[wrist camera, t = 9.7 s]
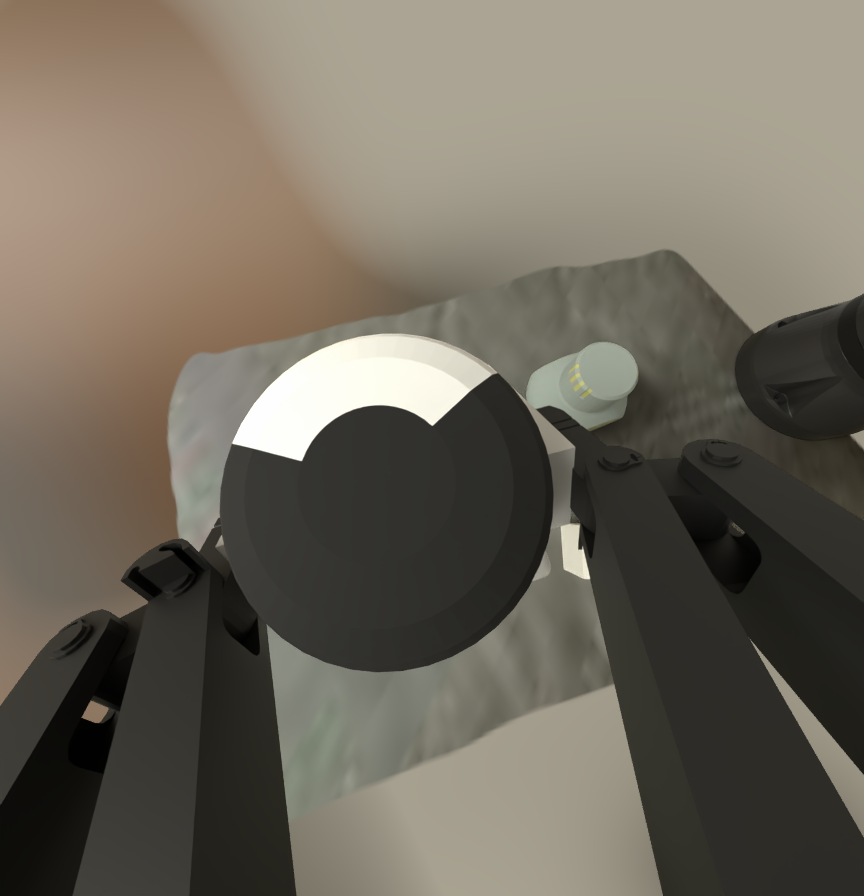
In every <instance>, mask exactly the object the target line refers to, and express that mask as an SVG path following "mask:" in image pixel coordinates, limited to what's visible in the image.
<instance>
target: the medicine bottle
mask: <svg viewBox="0 0 864 896" xmlns="http://www.w3.org/2000/svg"><path fill="white" fill-rule="evenodd" d="M553 498H554V491H553V480H552V470H551V466H550V461H549V457H548V453H547V449H546V446H545V443H544V440H543V438H542V435H541V433H540V430H539V428H538V425H537V423H536V422H535V420H534V418H533V416H532V415H531V413H530V411H529V409H528V407H527V406H526V404H525V403H524V402H523V401H522V399H521V398H520V397H519V395H518V394H517V393H516V391H515V390H514V389H513V388H512V387H511V386H510V385H509V384H508V383H507V382H506V381H505V380H504V379H503V378H502V377H501V376H500V375H499V374H498V373H497V372H496V371H495V370H493V369H492V368H491V367H489V366H488V365H487V364H485V363H484V362H483V361H481V360H480V359H478V358H476V357H475V356H473V355H471V354H469V353H468V352H466V351H464V350H462V349H460V348H457V347H455V346H452V345H450V344H447V343H445V342H442V341H438V340H435V339H431V338H427V337H423V336H416V335H408V334H376V335H368V336H360V337H357V338H353V339H349V340H345V341H341V342H338V343H336V344H333V345H331V346H328V347H326V348H323V349H321V350H319V351H317V352H315V353H313V354H311V355H310V356H308V357H306V358H304V359H302V360H301V361H299V362H298V363H297V364H295V365H294V366H292V367H291V368H290V369H288V370H287V371H285V372H284V373H283V374H282V375H281V376H280V377H279V378H278V379H277V380H275V381H274V382H273V383H272V384H271V385H270V386H269V387H268V388H267V389H266V390H265V392H264V393H263V394H262V395H261V396H260V398H259V399H258V400H257V401H256V402H255V404H254V405H253V406H252V408H251V410H250V411H249V413H248V414H247V416H246V417H245V419H244V421H243V422H242V424H241V426H240V428H239V430H238V432H237V434H236V436H235V439H234V441H233V443H232V445H231V448H230V452H229V455H228V458H227V461H226V464H225V468H224V474H223V479H222V485H221V494H220V521H221V532H222V538H223V542H224V547H225V551H226V555H227V559H228V562H229V564H230V567H231V569H232V572H233V574H234V577H235V579H236V582H237V583H238V585H239V587H240V588H241V590H242V592H243V594H244V595H245V597H246V599H247V601H248V602H249V604H250V605H251V606H252V607H253V609H254V610H255V611H256V612H257V614H258V615H259V616H260V617H261V619H262V620H263V621H264V622H265V623H266V624H267V625H268V626H269V627H270V628H272V629H273V630H274V631H275V632H276V633H277V634H278V635H279V636H280V637H281V638H283V639H284V640H286V641H287V642H289V643H290V644H292V645H293V646H295V647H296V648H298V649H299V650H301V651H302V652H304V653H306V654H308V655H311V656H313V657H315V658H317V659H319V660H322V661H324V662H326V663H330V664H333V665H337V666H341V667H344V668H348V669H352V670H361V671H370V672H390V671H404V670H409V669H414V668H419V667H424V666H428V665H431V664H434V663H436V662H439V661H442V660H444V659H447V658H450V657H452V656H454V655H456V654H458V653H459V652H461V651H463V650H465V649H467V648H468V647H470V646H472V645H474V644H475V643H477V642H478V641H479V640H481V639H482V638H483V637H484V636H486V635H487V634H488V633H490V632H491V631H492V630H493V629H495V628H496V627H497V626H498V625H499V624H500V623H501V622H502V621H503V620H504V619H505V617H506V616H507V615H508V614H509V613H510V612H511V611H512V610H513V609H514V608H515V606H516V605H517V603H518V602H519V601H520V599H521V598H522V596H523V595H524V594H525V592H526V591H527V589H528V588H529V586H530V584H531V582H532V581H535V580H538V579H541V578H544V577H545V576H547V575H548V574H549V573H550V570H551V563H550V560H549V558H548V555H547V552H546V550H545V549H546V546H547V543H548V539H549V534H550V529H551V523H552V518H553Z"/></svg>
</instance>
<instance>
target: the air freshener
mask: <svg viewBox="0 0 864 896" xmlns="http://www.w3.org/2000/svg"><path fill="white" fill-rule="evenodd" d="M638 372H639V371H638V367H637V365H636V361H635V359H634V358H633V357H632V355H631V354H630V353H629V352H628V351H627V350H625V349H624V348H623V347H621V346H619V345H617V344H614V343H610V342H597V343H593V344H591V345H588V346H587V347H585V348H584V349H583V350H582V351H581V352H578V353H575V354H571V355H568V356H566V357H563V358H560V359H558V360H556V361H553V362H551V363H549V364H547V365H545V366H543V367H542V368H540V369H538V370H537V371H535V372H534V373H533V374H532V375H531V377H530V379H529V383H528V386H527V393H526V398H527V402H528V403H529V404H530V405H532V406H533V407H534V408H535V409H538V408H541V407H545V406H549V405H550V406H553V407H556V408H559V409H561V410H564V411H565V412H566V413H567V414H568V415H570V416H571V417H572V419H575V420H576V421H577V422H578V423H580V426H581V425H582V426H583V427H584V428H586V429H587V430H588V431H591V430H594V429H597V428H599V427H602V426H604V425H607V424H609V423H612V422H614V421H616V420H619V419H621V418H622V417H623V415H624V413H625V410H626V406H627V395H628V394H630V393H631V392H632V391H633V389H634V388H635V386H636V384H637V382H638Z"/></svg>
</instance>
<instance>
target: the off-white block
mask: <svg viewBox="0 0 864 896" xmlns="http://www.w3.org/2000/svg"><path fill="white" fill-rule="evenodd" d="M579 529H580V523H570V524H567V525H564V526H561V536H562V550H563V564H564V569H565V570H567V571H569V572H571V573H573V574H575V575H577V576H579V577H581V578H583V579H590V576H589V571H588V567H587V563H586V558H585V554H584V550H583V547H582V550H578V540H579Z"/></svg>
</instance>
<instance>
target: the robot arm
mask: <svg viewBox="0 0 864 896" xmlns="http://www.w3.org/2000/svg"><path fill="white" fill-rule="evenodd" d="M487 365H488V364H487ZM488 366H489V365H488ZM489 367H490V366H489ZM492 369H493V368H492ZM493 370H494V369H493ZM735 371H736V380H737V384H738V388H739V390H740V393H741V395H742V397H743V399H744V401H745V402H746V404H747V405H748V407H749V408H750V409H751V410H752V412H753V413H754V414H755V415H756V416H757V417H758V418H759V419H760V420H762V421H763V422H764V423H766V424H767V425H768V426H770V427H771V428H773V429H775V430H777V431H778V432H781V433H783V434H785V435H788V436H791V437H794V438H798V439H804V440H824V439H830V438H835V437H841V436H846V435H850V434H854V433H857V432H860V431H862V430H864V294H862V295H860V296H858V297H856V298H854V299H852V300H850V301H846V302H843V303H839V304H835V305H831V306H828V307H824V308H820V309H817V310H813V311H809V312H805V313H801V314H798V315H794V316H791V317H787V318H784V319H782V320H779V321H777V322H775V323H773V324H771V325H769V326H767V327H766V328H764V329H762V330H760V331H758V332H757V333H755V334H754V335H752V336H751V337H750V338H749V339H748V340H747V341H746V342H745V343H744V345H743V346H742V348H741V349H740V351H739V354H738V357H737V361H736V370H735ZM511 387H512V386H511ZM512 388H513V387H512ZM513 389H514V388H513ZM514 390H515V389H514ZM515 391H516V390H515ZM516 393H517V394H518V395H519V397H520V398H521V399H522V401H523V402H524V403H525V404H526V406H527V407H528V409H529V411H530V413H531V415H532V416H533V418H534V420H535V422H536V423H537V425H538V428H539V430H540V433H541V435H542V438H543V440H544V443H545V446H546V449H547V453H548V457H549V461H550V466H551V470H552V480H553V491H554V498H553V518H552V523H551V529H553V528H557V527H560V526H564V525H567V524H570V521H571V510H572V511H573V512H574V513H575V515H576V516H577V517H578V519H579V520H580V529H579V540H578V550H582V547H583V550H584V554H585V558H586V563H587V567H588V571H589V576H590V580H591V584H592V589H593V593H594V597H595V602H596V606H597V610H598V615H599V619H600V623H601V628H602V632H603V636H604V641H605V645H606V649H607V654H608V658H609V663H610V667H611V671H612V676H613V680H614V684H615V689H616V693H617V697H618V701H619V705H620V710H621V714H622V719H623V723H624V728H625V731H626V736H627V740H628V745H629V749H630V754H631V758H632V762H633V766H634V771H635V775H636V780H637V784H638V788H639V792H640V797H641V801H642V806H643V810H644V814H645V819H646V823H647V828H648V832H649V836H650V840H651V845H652V849H653V854H654V858H655V862H656V866H657V871H658V875H659V880H660V884H661V888H662V893H663V896H864V837H863V836H862V834H861V832H860V831H859V829H858V827H857V825H856V823H855V822H854V820H853V818H852V816H851V815H850V813H849V811H848V810H847V808H846V806H845V804H844V802H843V801H842V799H841V797H840V796H839V794H838V792H837V790H836V789H835V787H834V785H833V783H832V782H831V780H830V778H829V776H828V775H827V773H826V771H825V769H824V768H823V766H822V764H821V762H820V761H819V759H818V757H817V756H816V754H815V752H814V750H813V749H812V747H811V745H810V744H809V742H808V740H807V738H806V736H805V735H804V733H803V731H802V729H801V728H800V726H799V724H798V722H797V721H796V719H795V717H794V716H793V714H792V712H791V710H790V709H789V707H788V705H787V704H786V702H785V700H784V698H783V696H782V695H781V693H780V692H779V690H778V688H777V686H776V684H775V683H774V681H773V679H772V677H771V676H770V674H769V672H768V670H767V669H766V667H765V665H764V663H763V662H762V660H761V658H760V656H759V655H758V653H757V651H756V649H755V648H754V646H753V644H752V643H751V641H752V642H753V643H754V644H755V645H756V646H757V648H758V649H759V650H760V651H761V652H762V654H763V655H764V656H765V657H766V658H767V660H768V661H769V662H770V663H771V664H772V666H773V667H774V668H775V669H776V670H777V672H778V673H779V674H780V675H781V676H782V677H783V679H784V680H785V681H786V682H787V684H788V685H789V686H790V687H791V688H792V690H793V691H794V692H795V693H796V694H797V696H798V697H800V699H801V700H802V701H803V703H804V704H805V705H806V706H807V707H808V709H809V710H810V711H811V712H812V713H813V714H814V716H815V717H816V718H817V719H818V721H819V722H820V723H821V724H822V725H823V727H824V728H825V729H826V730H827V731H828V733H829V734H830V735H831V736H832V737H833V738H834V740H835V741H836V742H837V743H838V744H839V746H840V747H841V748H842V749H843V750H844V752H845V753H846V754H847V755H848V756H849V758H850V759H851V760H852V761H853V762H854V764H855V765H856V766H857V767H858V768H859V770H860V771H861V772H862V773H863V774H864V521H863V520H862V519H860V518H858V517H857V516H855V515H854V514H852V513H850V512H849V511H847V510H846V509H844V508H842V507H841V506H839V505H838V504H836V503H834V502H833V501H831V500H830V499H828V498H826V497H825V496H823V495H822V494H820V493H818V492H817V491H815V490H814V489H812V488H811V487H809V486H807V485H806V484H804V483H803V482H801V481H799V480H798V479H796V478H795V477H793V476H791V475H790V474H788V473H787V472H785V471H783V470H782V469H780V468H779V467H777V466H775V465H774V464H772V463H771V462H769V461H767V460H766V459H764V458H763V457H761V456H760V455H758V454H756V453H755V452H753V451H752V450H750V449H747V448H745V447H743V446H741V445H739V444H735V443H731V442H728V441H723V440H713V439H708V440H697V441H694V442H691V443H688V444H687V445H686V446H685V447H684V449H683V452H682V455H681V458H675V459H655V460H646V459H645V458H644V457H643V456H642V455H641V454H639V453H637V452H636V451H634V450H632V449H628V448H624V447H619V446H606V445H605V444H604V443H603V442H602V441H600V440H599V439H598V438H597V437H595V436H594V435H593V434H592V433H591V432H589V431H588V430H587V429H586V428H584V427H583V426H582V425H581V426H580V423H578V422H577V421H576V420H575V419H572V417H571V416H570V415H568V414H567V413H566V412H565V411H564V410H561V409H559V408H556V407H553V406H550V405H549V406H545V407H541V408H538V409H535V408H534V407H533V406H532V405H530V404H529V403H528V402H527V401H526V400H525V399H524V398H523V397H522V396H521V395H520V394H519V393H518V392H517V391H516ZM733 522H734V523H735V524H736V525H738V526H739V527H740V528H741V529H742V530H743V531H744V532H745V534H742V533H740V532H739V531H737V530H736V529H735V528H734V527H733V526H732V523H733ZM214 527H215V528H213V529H212V530H211V532H210V534H209V536H208V537H207V539H206V541H205V543H204V544H203V546H202V548H201V550H200V551H199V552H198V551H197V550H196V549H195V548H194V547H193V546H192V545H191V544H190V543H189V542H188V541H186V540H184V539H173V540H170V541H168V542H165V543H162V544H160V545H158V546H156V547H155V548H153V549H151V550H150V551H148V552H147V553H145V554H144V555H143V556H141V557H140V558H139V559H138V560H136V561H135V562H134V563H133V564H132V566H131V567H130V568H129V569H128V570H127V571H126V572H125V574H124V576H123V577H122V579H121V581H122V582H123V583H124V584H126V585H127V586H129V587H130V588H131V589H133V590H134V591H135V592H137V593H138V594H139V595H141V596H142V597H143V598H145V599H146V600H147V601H148V604H146V605H144V606H142V607H141V608H139V609H137V610H135V611H133V612H131V613H129V614H127V615H125V616H123V617H121V618H118V617H117V616H115V615H114V614H112V613H111V612H109V611H106V610H103V609H102V610H98V611H93V612H90V613H88V614H86V615H84V616H82V617H80V618H78V619H76V620H75V621H73V622H71V624H69V625H67V626H65V627H64V628H63V629H62V630H60V631H59V633H58V634H57V635H56V636H55V637H53V638H52V639H51V640H50V641H49V642H48V643H47V644H46V646H45V647H44V648H43V649H42V650H41V651H40V653H39V654H38V655H37V656H36V658H35V659H34V660H33V662H32V663H31V665H30V666H29V667H28V669H27V670H26V671H25V673H24V674H23V676H22V677H21V678H20V680H19V681H18V682H17V684H16V685H15V686H14V688H13V689H12V691H11V692H10V693H9V695H8V696H7V698H6V699H5V700H4V702H3V703H2V704H1V706H0V896H296V888H295V879H294V869H293V861H292V852H291V842H290V833H289V824H288V815H287V806H286V797H285V788H284V779H283V770H282V761H281V752H280V743H279V734H278V725H277V716H276V707H275V698H274V689H273V680H272V671H271V662H270V653H269V644H268V635H267V626H266V623H265V622H264V621H263V620H262V619H261V617H260V616H259V615H258V614H257V612H256V611H255V610H254V609H253V607H252V606H251V605H250V604H249V602H248V601H247V599H246V597H245V595H244V594H243V592H242V590H241V588H240V587H239V585H238V583H237V582H236V579H235V577H234V574H233V572H232V569H231V567H230V564H229V562H228V559H227V555H226V551H225V547H224V542H223V538H222V532H221V521H220V518H218V520H217V521H216V523H215V525H214ZM749 638H750V639H751V641H750V639H749ZM90 700H91V701H94V702H96V703H98V704H101V705H103V706H106V707H108V708H109V710H108V712H107V714H106V715H105V717H104V718H103V719H102V721H101V722H100V723H94V722H91V721H88V720H86V719H83V718H81V717H82V715H83V714H84V711H85V710H86V708H87V706H88V704H89V702H90Z"/></svg>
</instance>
